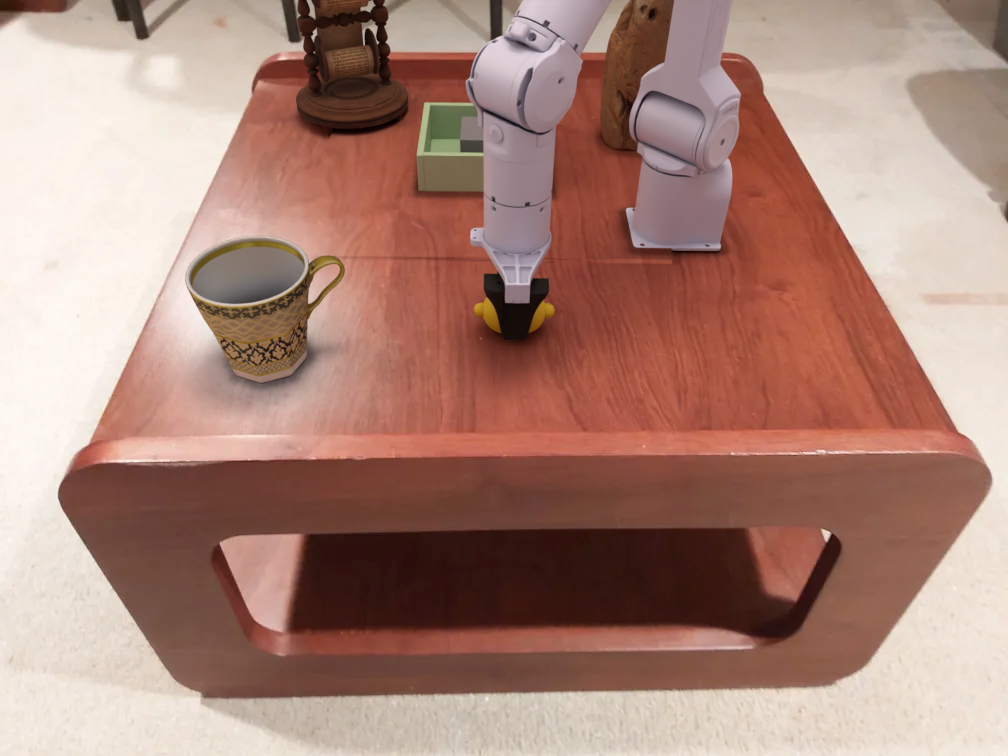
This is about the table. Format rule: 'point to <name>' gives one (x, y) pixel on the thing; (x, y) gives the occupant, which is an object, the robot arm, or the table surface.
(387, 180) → the table surface
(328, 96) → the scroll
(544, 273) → the table surface
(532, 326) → the lemon
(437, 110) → the crate
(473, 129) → the grey block
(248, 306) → the ceramic cup
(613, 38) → the brown upright lump
